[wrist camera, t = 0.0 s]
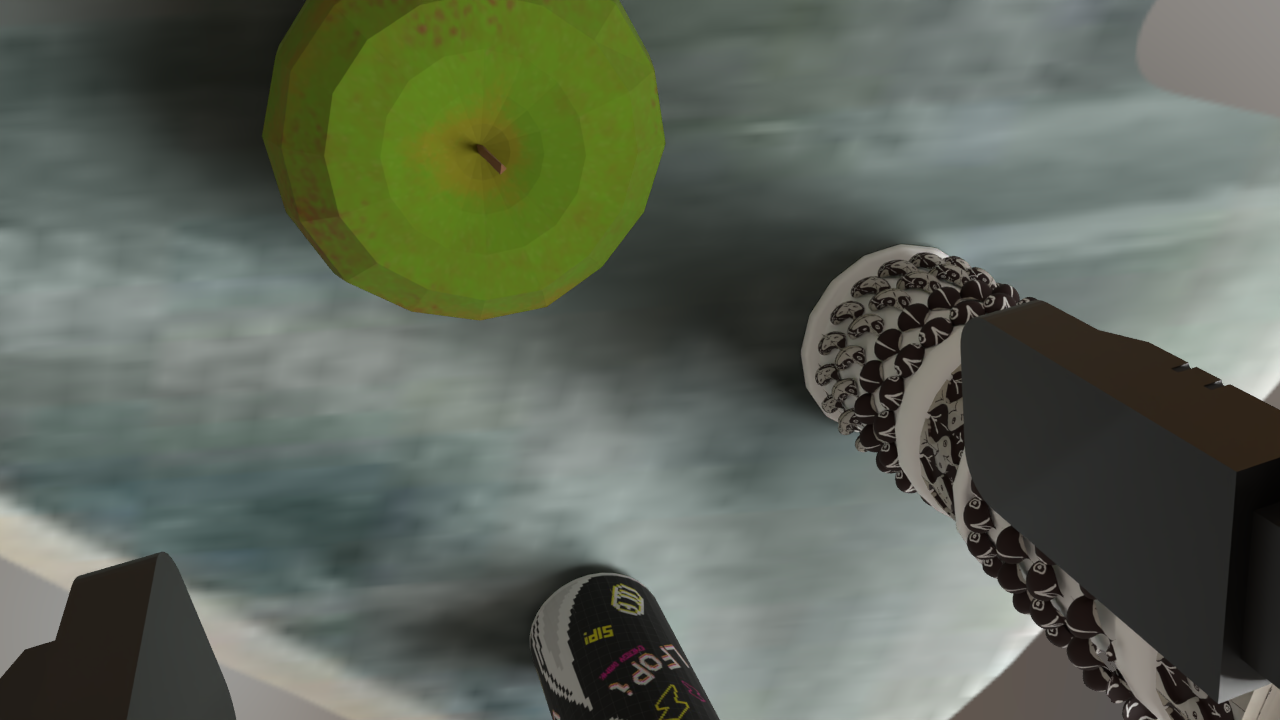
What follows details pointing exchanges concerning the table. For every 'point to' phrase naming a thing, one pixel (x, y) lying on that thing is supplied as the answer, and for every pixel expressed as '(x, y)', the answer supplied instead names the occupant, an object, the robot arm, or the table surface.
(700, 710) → the beverage can
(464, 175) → the apple
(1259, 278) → the table surface
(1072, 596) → the decorative candle
